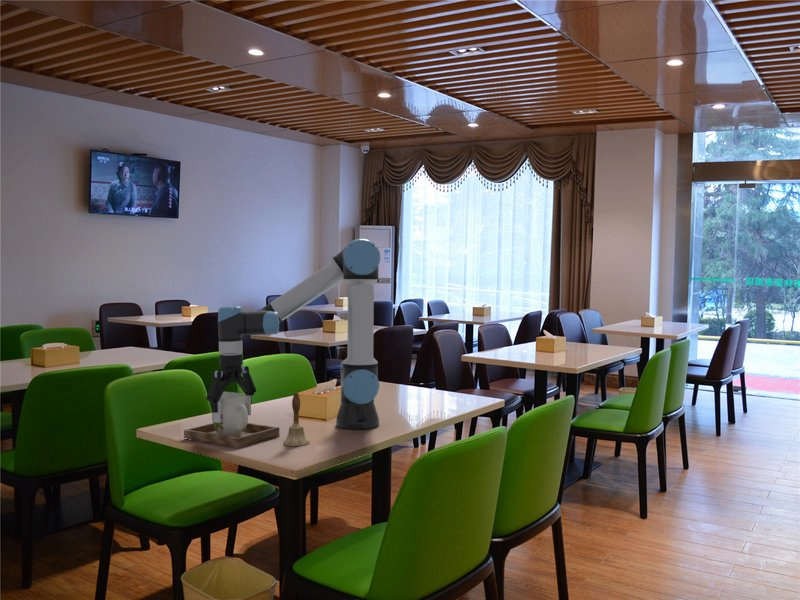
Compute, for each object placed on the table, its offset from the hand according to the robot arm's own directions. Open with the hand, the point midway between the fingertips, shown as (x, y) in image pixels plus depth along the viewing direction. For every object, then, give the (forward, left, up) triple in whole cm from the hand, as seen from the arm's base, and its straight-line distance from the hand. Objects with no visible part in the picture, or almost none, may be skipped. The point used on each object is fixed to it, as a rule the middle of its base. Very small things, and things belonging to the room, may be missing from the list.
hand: (232, 418), depth 241 cm
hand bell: (-23, -5, -7) cm, 24 cm away
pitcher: (0, 0, -6) cm, 6 cm away
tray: (0, 0, -6) cm, 6 cm away
